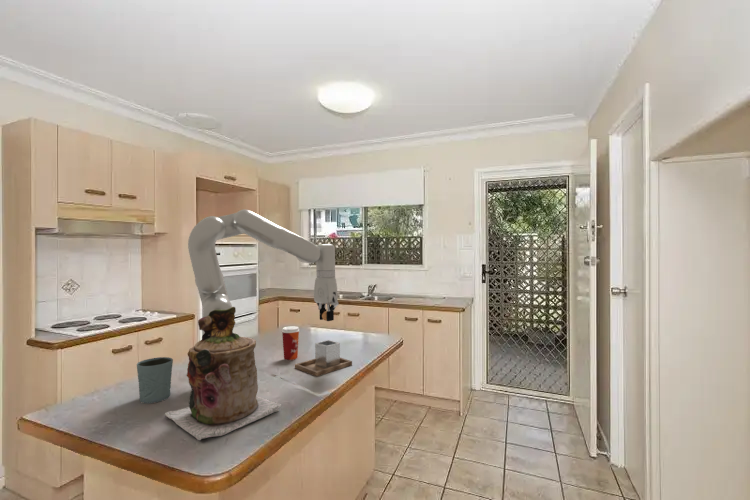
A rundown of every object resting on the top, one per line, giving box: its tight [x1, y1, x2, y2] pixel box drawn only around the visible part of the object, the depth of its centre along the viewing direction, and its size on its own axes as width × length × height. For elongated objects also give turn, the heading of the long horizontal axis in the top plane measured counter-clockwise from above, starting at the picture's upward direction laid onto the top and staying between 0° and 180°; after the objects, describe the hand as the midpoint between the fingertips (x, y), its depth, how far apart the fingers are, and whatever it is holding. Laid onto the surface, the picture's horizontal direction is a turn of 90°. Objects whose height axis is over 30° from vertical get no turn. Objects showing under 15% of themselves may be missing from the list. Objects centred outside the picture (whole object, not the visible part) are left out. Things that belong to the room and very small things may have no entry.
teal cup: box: [136, 356, 174, 404], centre depth 121 cm, size 10×10×12 cm
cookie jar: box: [164, 306, 282, 441], centre depth 108 cm, size 25×25×32 cm
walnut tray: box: [294, 357, 353, 377], centre depth 148 cm, size 18×14×2 cm
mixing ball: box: [322, 310, 328, 322], centre depth 149 cm, size 4×4×4 cm
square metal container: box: [314, 339, 341, 369], centre depth 150 cm, size 7×7×9 cm
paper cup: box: [281, 325, 300, 361], centre depth 160 cm, size 8×8×14 cm
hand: (326, 319), depth 149 cm, fingers closed on mixing ball, 3 cm apart
